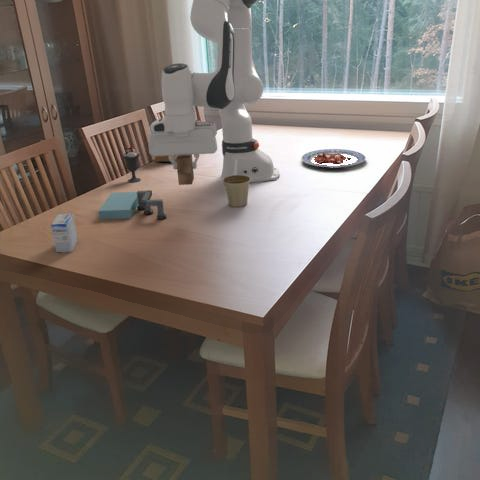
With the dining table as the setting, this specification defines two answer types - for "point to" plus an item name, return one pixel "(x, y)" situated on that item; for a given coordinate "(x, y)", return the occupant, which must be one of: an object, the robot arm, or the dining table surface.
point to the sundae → (131, 162)
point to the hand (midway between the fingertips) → (185, 168)
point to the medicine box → (64, 232)
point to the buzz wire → (150, 204)
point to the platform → (119, 206)
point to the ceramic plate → (332, 157)
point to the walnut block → (184, 169)
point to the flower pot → (237, 189)
